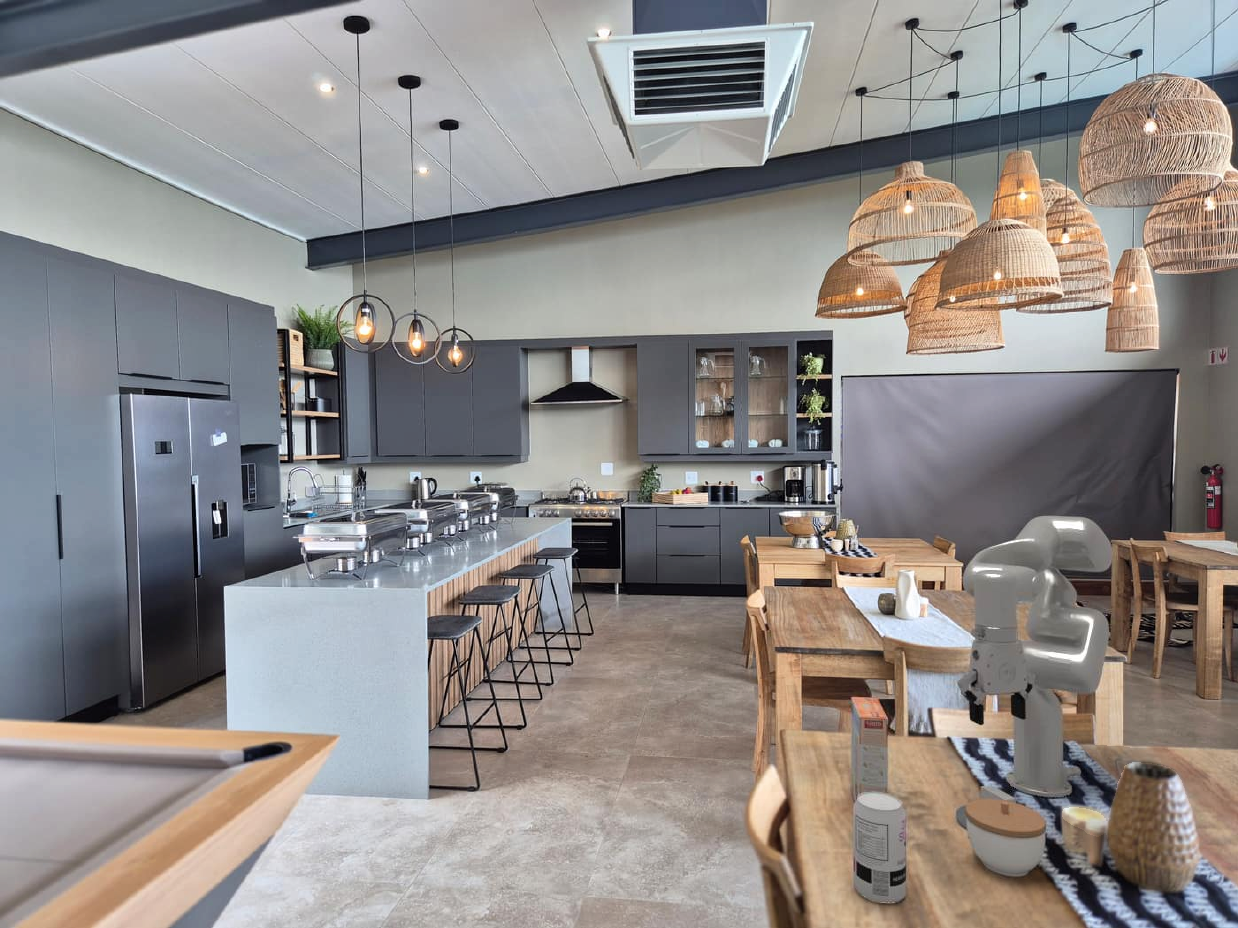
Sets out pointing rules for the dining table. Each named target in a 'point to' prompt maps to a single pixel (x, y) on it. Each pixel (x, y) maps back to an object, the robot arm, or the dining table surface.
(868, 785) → the cracker box
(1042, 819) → the lidded bowl
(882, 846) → the supplement can
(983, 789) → the lid
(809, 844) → the dining table surface
